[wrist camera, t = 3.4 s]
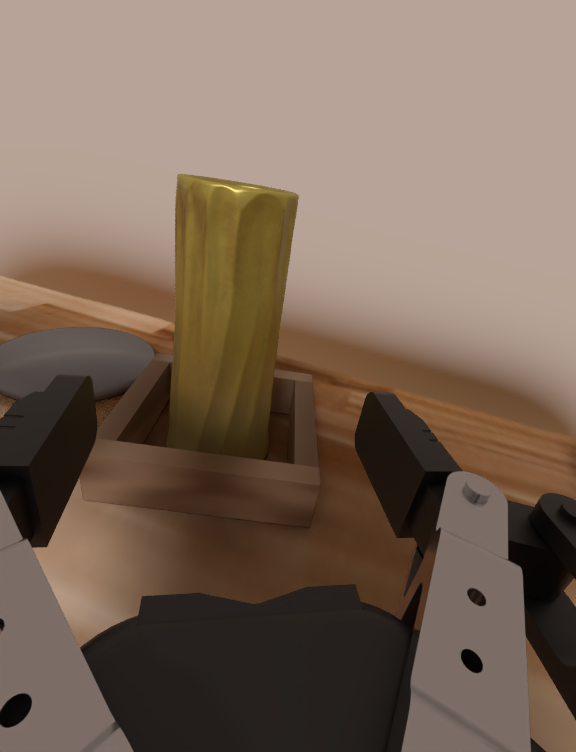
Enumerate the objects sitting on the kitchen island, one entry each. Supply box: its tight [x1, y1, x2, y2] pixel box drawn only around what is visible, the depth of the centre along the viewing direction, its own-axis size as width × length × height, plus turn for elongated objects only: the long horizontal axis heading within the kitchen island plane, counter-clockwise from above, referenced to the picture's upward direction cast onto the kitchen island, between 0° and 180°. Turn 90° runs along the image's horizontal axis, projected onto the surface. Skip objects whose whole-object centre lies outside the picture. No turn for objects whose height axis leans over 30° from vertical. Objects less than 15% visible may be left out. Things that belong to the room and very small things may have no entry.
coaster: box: [0, 327, 155, 401], centre depth 28 cm, size 11×11×1 cm
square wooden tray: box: [80, 352, 321, 528], centre depth 22 cm, size 11×11×3 cm
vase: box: [166, 174, 298, 460], centre depth 20 cm, size 6×6×14 cm
